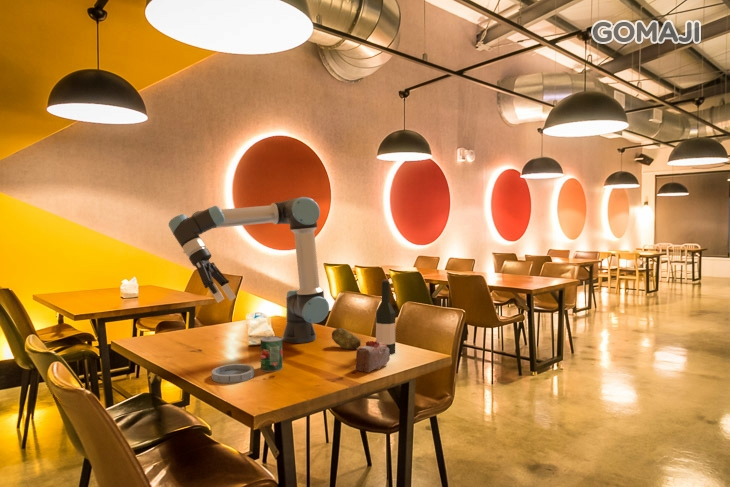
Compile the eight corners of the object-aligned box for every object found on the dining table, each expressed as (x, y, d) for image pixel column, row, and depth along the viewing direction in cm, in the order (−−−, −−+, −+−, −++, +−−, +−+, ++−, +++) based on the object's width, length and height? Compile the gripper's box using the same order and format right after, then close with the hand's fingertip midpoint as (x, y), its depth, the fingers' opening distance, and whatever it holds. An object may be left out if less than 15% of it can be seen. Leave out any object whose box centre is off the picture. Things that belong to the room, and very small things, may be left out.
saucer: (251, 368, 168) (251, 362, 168) (256, 380, 155) (256, 373, 155) (210, 373, 163) (210, 366, 163) (213, 385, 150) (212, 378, 150)
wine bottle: (397, 350, 194) (398, 279, 193) (392, 355, 186) (392, 281, 186) (378, 349, 197) (379, 278, 196) (372, 353, 189) (373, 280, 188)
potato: (348, 352, 192) (348, 333, 191) (328, 346, 201) (328, 328, 201) (363, 348, 197) (363, 330, 197) (343, 343, 207) (343, 325, 206)
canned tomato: (287, 367, 170) (287, 337, 170) (272, 373, 163) (271, 342, 163) (271, 364, 174) (271, 335, 174) (255, 369, 167) (255, 339, 167)
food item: (373, 361, 178) (373, 336, 178) (391, 364, 174) (391, 338, 174) (353, 370, 167) (353, 343, 166) (372, 374, 162) (372, 346, 162)
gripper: (201, 259, 186) (229, 303, 185) (174, 256, 161) (206, 307, 160) (217, 249, 186) (245, 293, 185) (192, 244, 162) (224, 295, 160)
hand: (227, 300), depth 172 cm, fingers open, 13 cm apart
